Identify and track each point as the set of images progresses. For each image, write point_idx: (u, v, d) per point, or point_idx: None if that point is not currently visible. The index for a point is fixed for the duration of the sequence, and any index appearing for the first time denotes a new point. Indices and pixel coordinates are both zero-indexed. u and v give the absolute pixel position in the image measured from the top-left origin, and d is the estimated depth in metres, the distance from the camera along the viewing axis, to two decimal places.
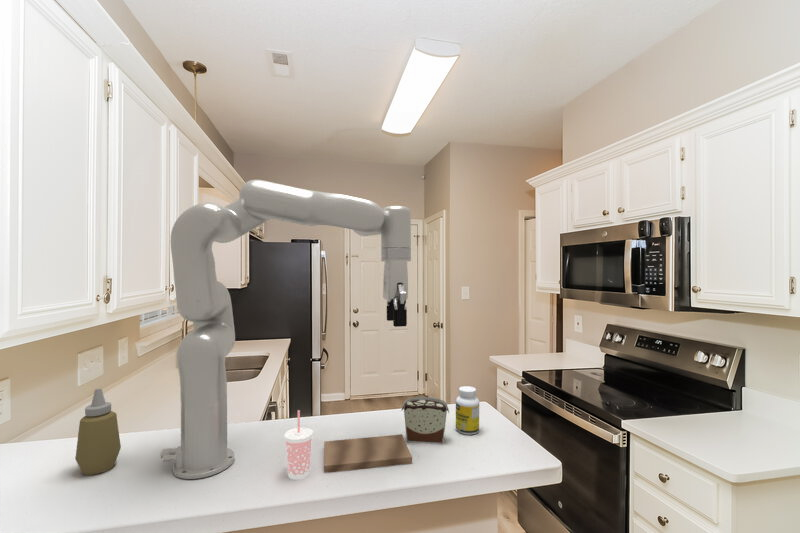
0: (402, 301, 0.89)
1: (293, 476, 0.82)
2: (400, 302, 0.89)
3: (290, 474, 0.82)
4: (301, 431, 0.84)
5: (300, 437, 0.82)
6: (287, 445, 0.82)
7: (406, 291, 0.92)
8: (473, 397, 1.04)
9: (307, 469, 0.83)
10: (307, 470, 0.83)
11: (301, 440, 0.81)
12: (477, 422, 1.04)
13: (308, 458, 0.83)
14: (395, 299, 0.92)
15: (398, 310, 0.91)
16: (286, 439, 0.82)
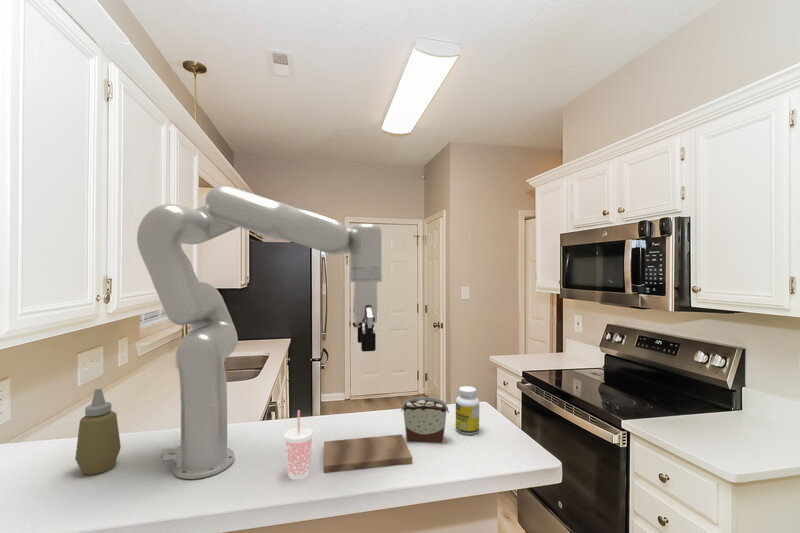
0: (370, 325, 0.84)
1: (293, 476, 0.82)
2: (367, 326, 0.84)
3: (290, 474, 0.82)
4: (301, 431, 0.84)
5: (300, 437, 0.82)
6: (287, 445, 0.82)
7: (375, 314, 0.88)
8: (473, 397, 1.04)
9: (307, 469, 0.83)
10: (307, 470, 0.83)
11: (301, 440, 0.81)
12: (477, 422, 1.04)
13: (308, 458, 0.83)
14: (363, 322, 0.87)
15: (366, 334, 0.86)
16: (286, 439, 0.82)
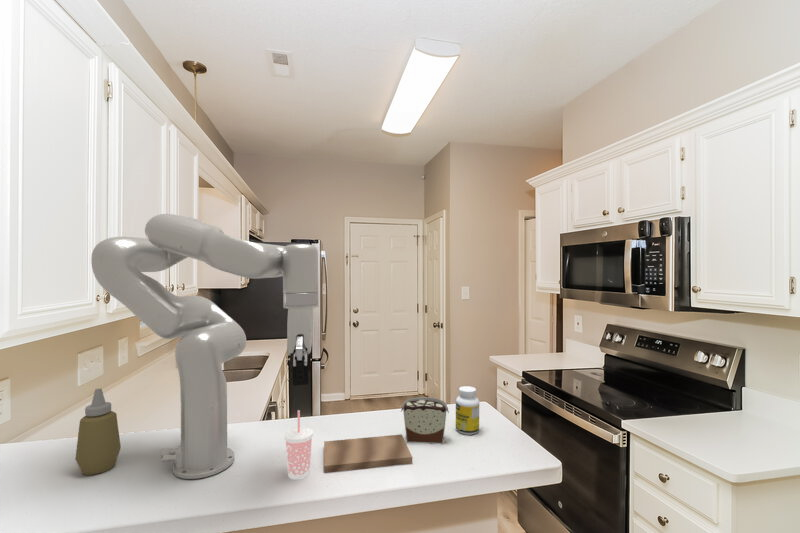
0: (299, 357, 0.77)
1: (293, 476, 0.82)
2: (297, 359, 0.77)
3: (290, 474, 0.82)
4: (301, 431, 0.84)
5: (300, 437, 0.82)
6: (287, 445, 0.82)
7: (308, 344, 0.80)
8: (473, 397, 1.04)
9: (307, 469, 0.83)
10: (307, 470, 0.83)
11: (301, 440, 0.81)
12: (477, 422, 1.04)
13: (308, 458, 0.83)
14: (295, 353, 0.79)
15: (297, 367, 0.78)
16: (286, 439, 0.82)
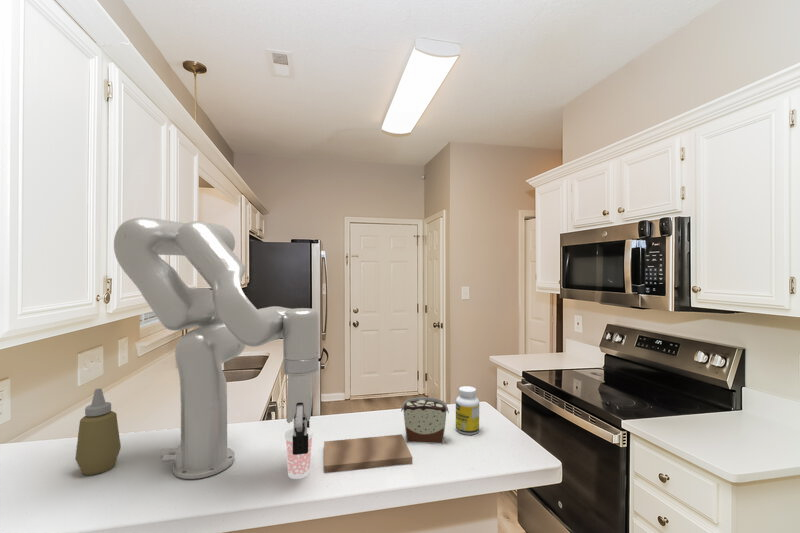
0: None
1: (293, 476, 0.82)
2: (297, 431, 0.78)
3: (290, 473, 0.82)
4: None
5: None
6: (287, 444, 0.82)
7: (307, 412, 0.80)
8: (473, 397, 1.04)
9: (307, 469, 0.83)
10: (307, 470, 0.83)
11: None
12: (477, 422, 1.04)
13: (308, 457, 0.83)
14: (295, 423, 0.80)
15: (297, 437, 0.80)
16: (286, 438, 0.82)
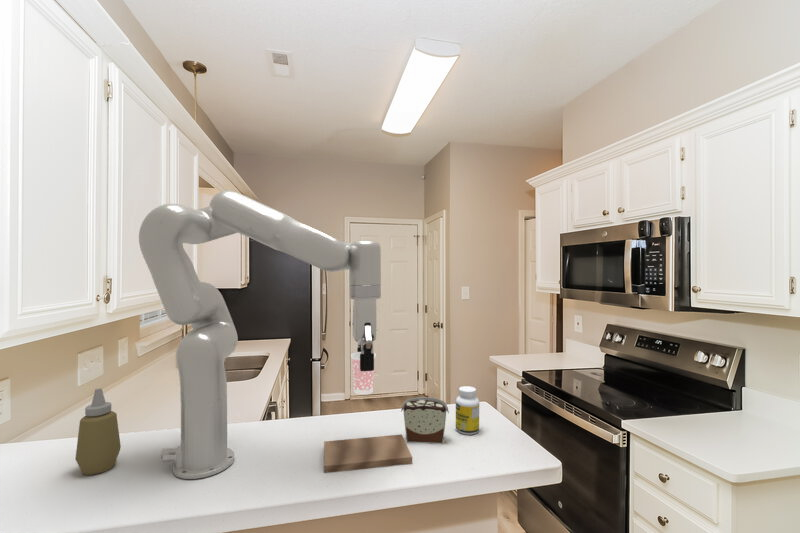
0: (368, 346, 0.86)
1: (360, 391, 0.90)
2: (366, 348, 0.86)
3: (357, 390, 0.90)
4: None
5: None
6: (354, 363, 0.90)
7: (374, 331, 0.87)
8: (473, 397, 1.04)
9: (371, 386, 0.91)
10: (371, 387, 0.91)
11: None
12: (477, 422, 1.04)
13: (372, 376, 0.91)
14: (362, 342, 0.88)
15: (365, 354, 0.88)
16: (353, 357, 0.90)
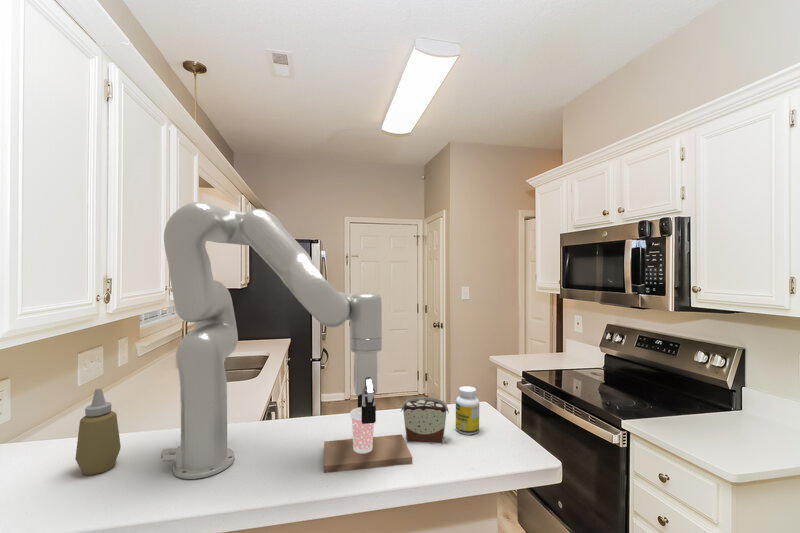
0: (370, 400, 0.85)
1: (359, 450, 0.90)
2: (368, 401, 0.85)
3: (356, 448, 0.90)
4: None
5: None
6: (353, 422, 0.91)
7: (375, 386, 0.88)
8: (473, 397, 1.04)
9: (371, 444, 0.91)
10: (371, 445, 0.91)
11: None
12: (477, 422, 1.04)
13: (372, 434, 0.91)
14: (363, 394, 0.87)
15: (366, 407, 0.86)
16: (353, 416, 0.90)
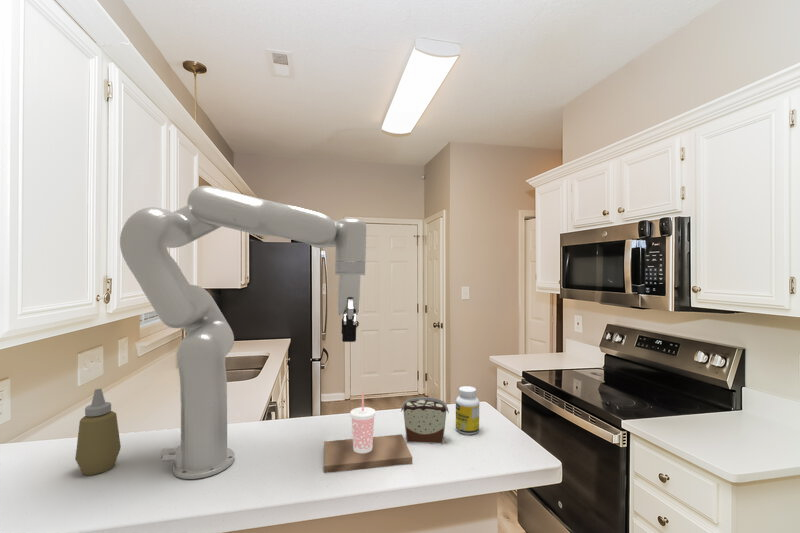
0: (350, 316, 0.87)
1: (359, 450, 0.90)
2: (348, 317, 0.87)
3: (356, 448, 0.90)
4: (365, 410, 0.93)
5: (365, 415, 0.90)
6: (353, 422, 0.91)
7: (356, 306, 0.90)
8: (473, 397, 1.04)
9: (371, 444, 0.91)
10: (371, 445, 0.91)
11: (367, 417, 0.90)
12: (477, 422, 1.04)
13: (372, 434, 0.91)
14: (345, 314, 0.90)
15: (347, 325, 0.89)
16: (353, 416, 0.90)
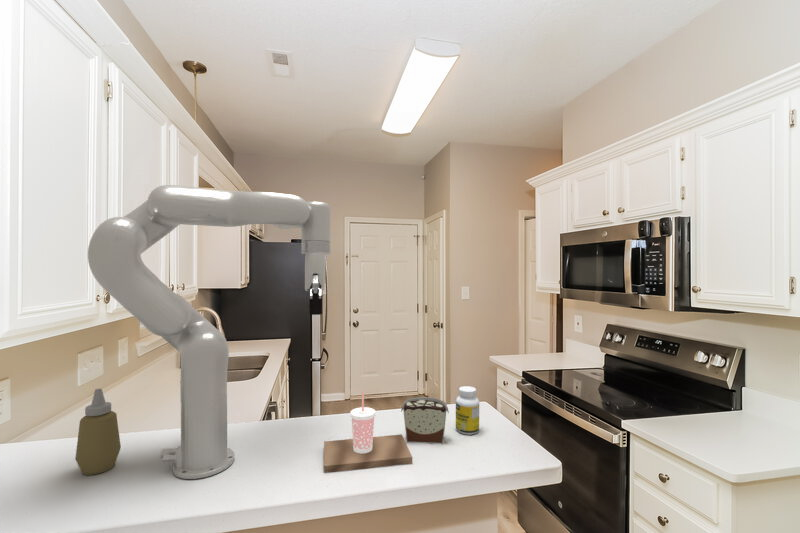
0: (315, 290, 0.95)
1: (359, 450, 0.90)
2: (313, 291, 0.95)
3: (356, 448, 0.90)
4: (365, 410, 0.93)
5: (365, 415, 0.90)
6: (353, 422, 0.91)
7: (322, 281, 0.98)
8: (473, 397, 1.04)
9: (371, 444, 0.91)
10: (371, 445, 0.91)
11: (367, 417, 0.90)
12: (477, 422, 1.04)
13: (372, 434, 0.91)
14: (311, 289, 0.98)
15: (313, 299, 0.97)
16: (353, 416, 0.90)
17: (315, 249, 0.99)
